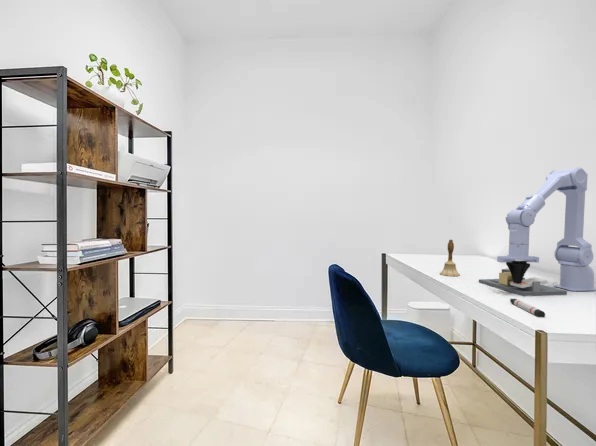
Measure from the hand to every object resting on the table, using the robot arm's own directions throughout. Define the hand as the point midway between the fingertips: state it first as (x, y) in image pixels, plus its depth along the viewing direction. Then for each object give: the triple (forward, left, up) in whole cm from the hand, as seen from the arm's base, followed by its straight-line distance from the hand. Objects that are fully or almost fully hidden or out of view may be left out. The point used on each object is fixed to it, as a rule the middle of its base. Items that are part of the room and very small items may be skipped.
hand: (517, 283), depth 113 cm
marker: (+13, +17, -4) cm, 21 cm away
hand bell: (+3, -35, -4) cm, 35 cm away
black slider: (-9, -14, -2) cm, 17 cm away
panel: (-7, -7, -4) cm, 11 cm away
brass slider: (-2, -7, -2) cm, 8 cm away
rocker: (-4, 0, 0) cm, 5 cm away
